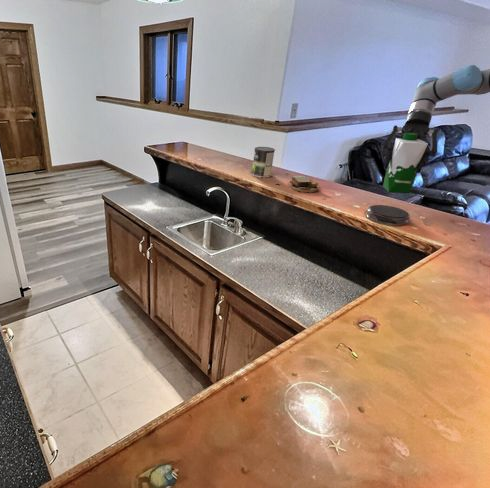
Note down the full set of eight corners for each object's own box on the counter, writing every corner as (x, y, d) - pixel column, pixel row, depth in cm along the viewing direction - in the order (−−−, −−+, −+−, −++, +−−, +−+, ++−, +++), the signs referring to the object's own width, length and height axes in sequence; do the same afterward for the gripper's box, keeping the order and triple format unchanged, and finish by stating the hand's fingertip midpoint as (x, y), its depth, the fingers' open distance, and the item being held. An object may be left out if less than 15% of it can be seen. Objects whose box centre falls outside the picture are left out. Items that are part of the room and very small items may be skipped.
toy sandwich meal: (296, 193, 161) (298, 183, 159) (285, 184, 173) (287, 175, 171) (322, 193, 162) (324, 183, 160) (310, 184, 174) (312, 175, 172)
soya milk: (404, 187, 132) (422, 133, 123) (413, 195, 124) (433, 137, 115) (379, 185, 134) (395, 131, 125) (386, 193, 126) (404, 136, 117)
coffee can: (253, 177, 184) (257, 150, 178) (249, 172, 193) (252, 146, 187) (273, 177, 184) (277, 150, 178) (268, 172, 193) (272, 146, 187)
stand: (408, 217, 136) (411, 209, 134) (406, 229, 126) (409, 220, 124) (368, 210, 143) (370, 202, 141) (363, 220, 133) (365, 212, 131)
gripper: (453, 126, 125) (437, 179, 121) (383, 121, 136) (366, 169, 132) (459, 112, 119) (443, 167, 114) (386, 107, 130) (368, 158, 125)
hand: (402, 168), depth 123 cm, fingers closed on soya milk, 9 cm apart
